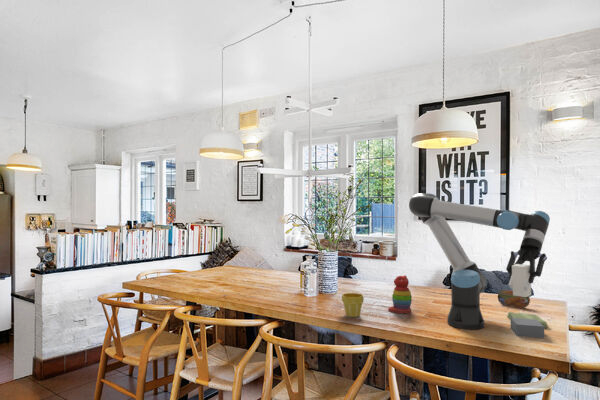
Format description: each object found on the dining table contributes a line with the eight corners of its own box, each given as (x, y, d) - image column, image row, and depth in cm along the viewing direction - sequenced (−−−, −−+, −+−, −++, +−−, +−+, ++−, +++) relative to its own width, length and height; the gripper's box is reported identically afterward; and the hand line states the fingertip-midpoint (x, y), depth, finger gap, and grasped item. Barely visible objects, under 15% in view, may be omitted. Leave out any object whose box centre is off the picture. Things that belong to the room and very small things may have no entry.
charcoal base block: (516, 336, 161) (516, 324, 161) (510, 329, 171) (510, 317, 171) (544, 339, 158) (544, 326, 158) (536, 331, 168) (536, 319, 168)
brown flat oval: (497, 304, 212) (497, 288, 213) (499, 303, 215) (499, 288, 215) (529, 309, 202) (528, 293, 202) (530, 308, 204) (530, 292, 205)
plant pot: (338, 313, 194) (338, 293, 194) (356, 311, 198) (356, 291, 198) (348, 319, 184) (348, 298, 184) (367, 316, 188) (367, 296, 188)
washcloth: (536, 318, 187) (535, 311, 187) (549, 329, 170) (549, 322, 170) (505, 316, 191) (505, 309, 191) (515, 327, 174) (515, 320, 174)
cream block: (526, 297, 156) (524, 266, 156) (513, 295, 160) (511, 265, 160) (531, 294, 160) (530, 265, 160) (518, 293, 163) (516, 263, 163)
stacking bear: (401, 307, 206) (401, 273, 206) (416, 311, 197) (416, 276, 198) (386, 310, 200) (386, 275, 200) (401, 315, 191) (401, 278, 192)
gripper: (559, 249, 163) (546, 297, 152) (512, 246, 177) (498, 290, 166) (553, 237, 159) (540, 285, 149) (507, 235, 173) (491, 279, 163)
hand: (517, 287), depth 158 cm, fingers closed on cream block, 5 cm apart
